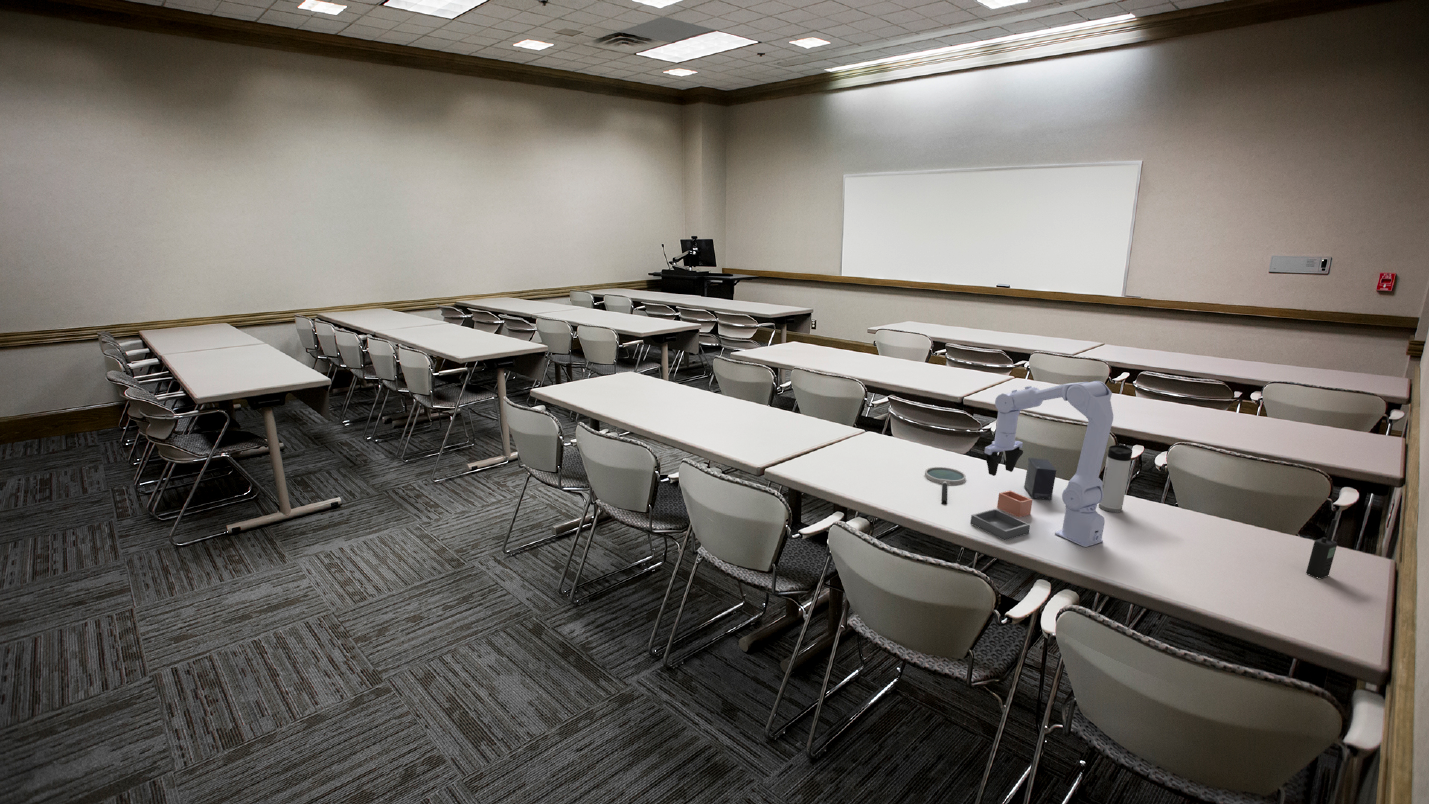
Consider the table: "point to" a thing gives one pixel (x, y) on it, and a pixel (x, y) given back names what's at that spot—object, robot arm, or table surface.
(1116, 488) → the travel mug
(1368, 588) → the table surface
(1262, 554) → the table surface
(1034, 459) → the small box
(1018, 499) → the terracotta crate
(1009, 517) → the charcoal crate
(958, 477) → the magnifying glass
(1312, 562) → the walkie-talkie
